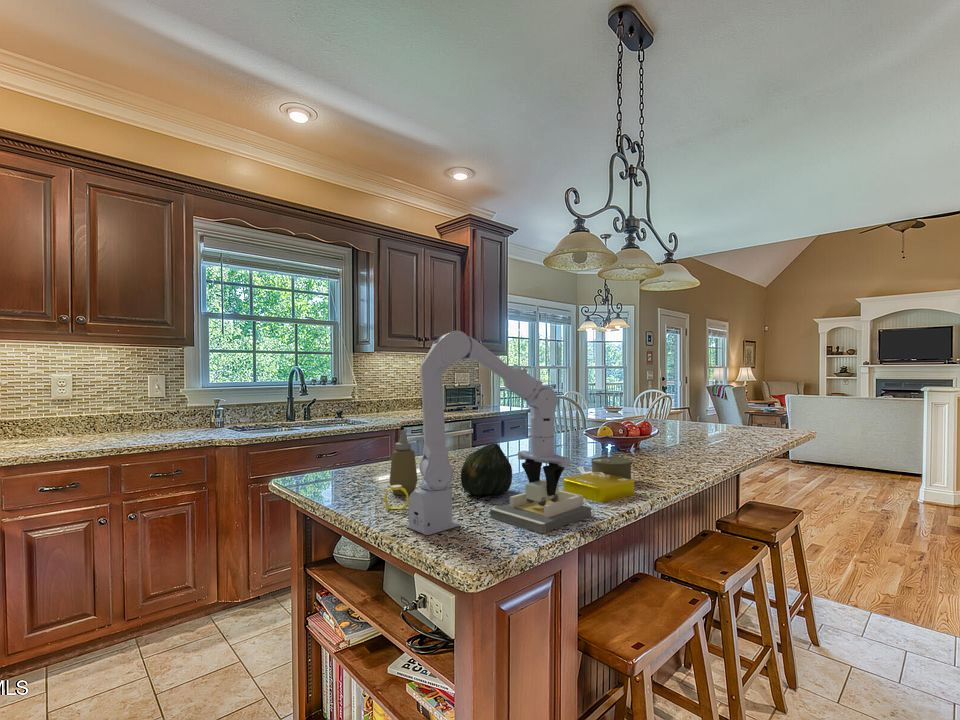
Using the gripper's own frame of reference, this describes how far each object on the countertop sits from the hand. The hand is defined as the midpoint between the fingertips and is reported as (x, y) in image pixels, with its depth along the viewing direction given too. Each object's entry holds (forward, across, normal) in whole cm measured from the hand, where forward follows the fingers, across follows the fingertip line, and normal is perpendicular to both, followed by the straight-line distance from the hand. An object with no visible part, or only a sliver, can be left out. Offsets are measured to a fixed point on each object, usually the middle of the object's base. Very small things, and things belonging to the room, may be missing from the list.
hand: (543, 493), depth 113 cm
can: (+6, +8, -42) cm, 43 cm away
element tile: (+6, +3, -28) cm, 28 cm away
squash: (+6, +25, -5) cm, 26 cm away
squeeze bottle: (+6, +42, +12) cm, 44 cm away
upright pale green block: (+2, 0, 0) cm, 2 cm away
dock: (+5, 0, +1) cm, 5 cm away
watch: (+6, +30, +22) cm, 38 cm away
